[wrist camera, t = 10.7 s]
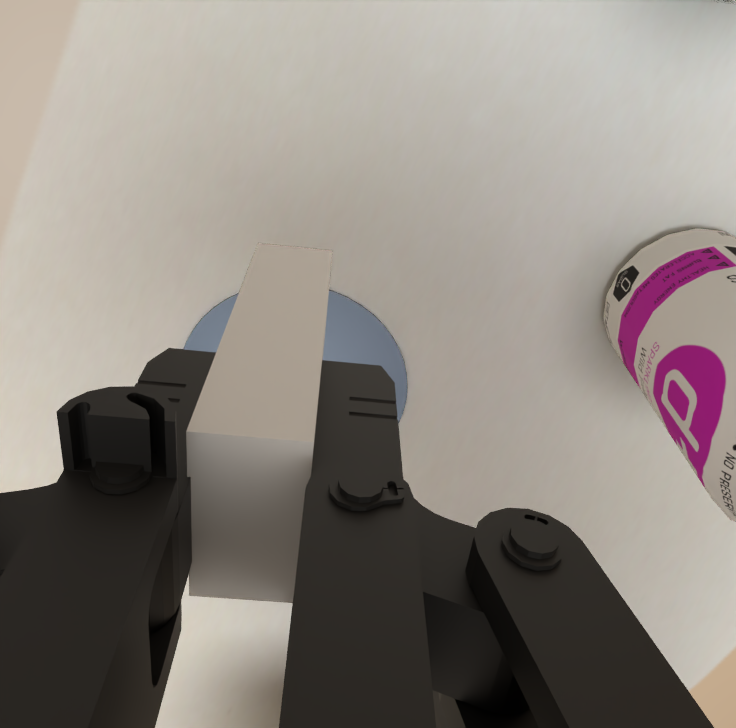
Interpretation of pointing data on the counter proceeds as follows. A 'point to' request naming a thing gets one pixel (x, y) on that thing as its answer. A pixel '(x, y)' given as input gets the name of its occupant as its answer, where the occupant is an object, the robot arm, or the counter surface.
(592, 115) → the counter surface
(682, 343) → the supplement can
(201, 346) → the slate mark
